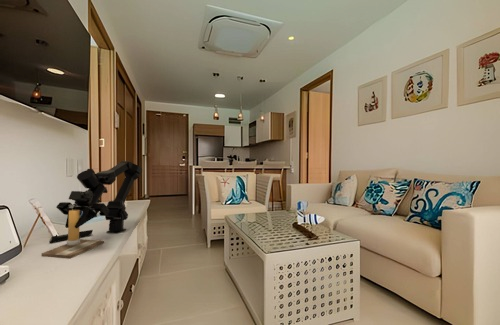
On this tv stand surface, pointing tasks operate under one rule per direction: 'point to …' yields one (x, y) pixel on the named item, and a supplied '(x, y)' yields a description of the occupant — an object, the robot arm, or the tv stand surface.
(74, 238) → the orange rounded post
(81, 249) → the subfloor panel
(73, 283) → the tv stand surface
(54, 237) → the electric trimmer
